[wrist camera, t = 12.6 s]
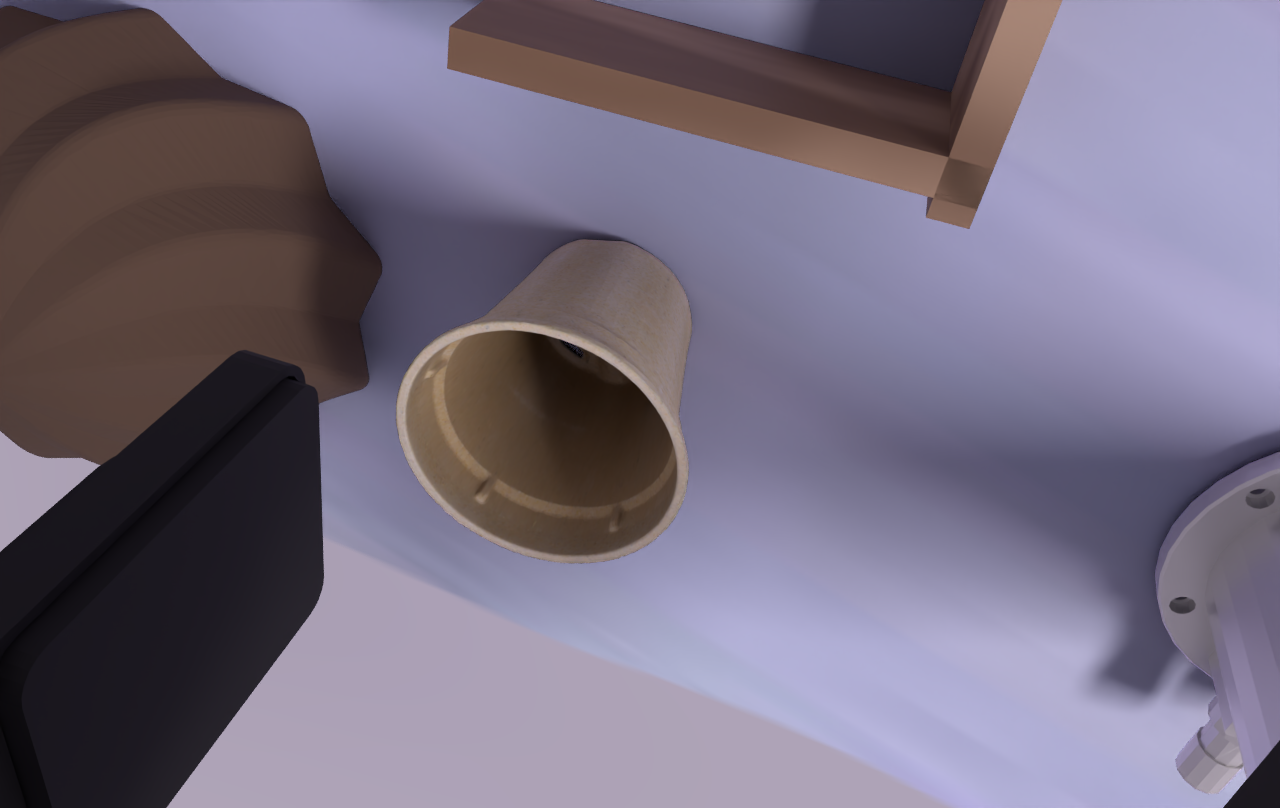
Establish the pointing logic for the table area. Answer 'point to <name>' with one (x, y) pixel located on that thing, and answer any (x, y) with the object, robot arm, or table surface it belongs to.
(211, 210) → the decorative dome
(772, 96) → the brown wooden corner frame
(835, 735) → the table surface
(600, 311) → the flower pot
